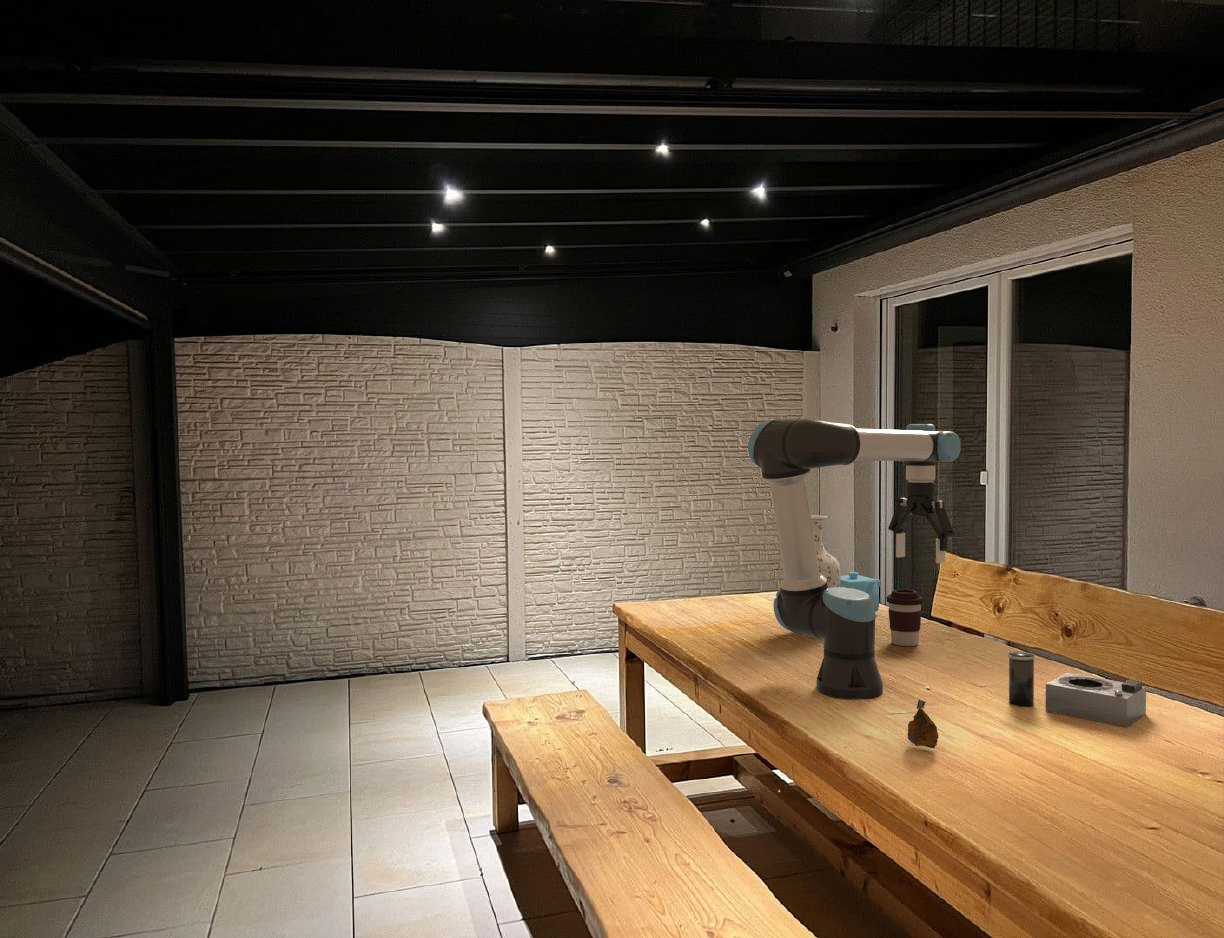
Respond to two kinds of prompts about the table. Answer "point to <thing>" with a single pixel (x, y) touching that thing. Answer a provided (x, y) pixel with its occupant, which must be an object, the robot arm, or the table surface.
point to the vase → (825, 554)
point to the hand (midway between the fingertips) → (920, 560)
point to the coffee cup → (905, 616)
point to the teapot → (862, 585)
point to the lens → (1021, 679)
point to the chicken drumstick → (922, 728)
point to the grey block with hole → (1097, 699)
